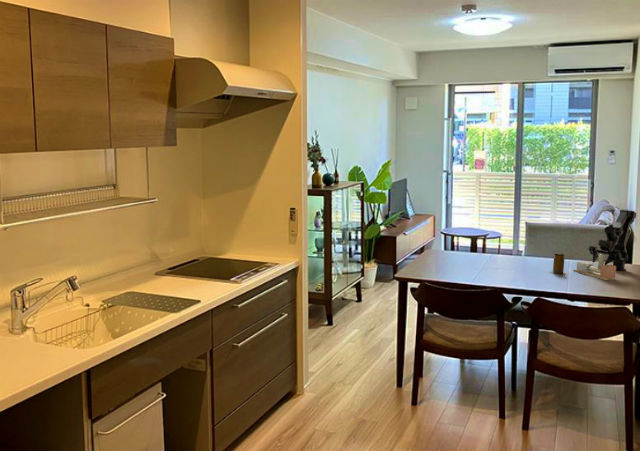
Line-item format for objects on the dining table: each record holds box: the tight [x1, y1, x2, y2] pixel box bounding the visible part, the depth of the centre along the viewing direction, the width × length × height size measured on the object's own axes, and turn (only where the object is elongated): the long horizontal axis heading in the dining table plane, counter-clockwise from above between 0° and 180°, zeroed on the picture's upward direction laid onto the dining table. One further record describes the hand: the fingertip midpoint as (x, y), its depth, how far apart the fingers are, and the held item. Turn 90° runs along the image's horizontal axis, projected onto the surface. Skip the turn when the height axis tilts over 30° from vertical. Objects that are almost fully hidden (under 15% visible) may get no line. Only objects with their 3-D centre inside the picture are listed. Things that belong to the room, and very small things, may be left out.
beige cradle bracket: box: [587, 253, 605, 274], centre depth 376 cm, size 3×15×12 cm, turn 22°
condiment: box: [549, 252, 569, 276], centre depth 383 cm, size 7×8×12 cm
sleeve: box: [576, 260, 594, 273], centre depth 386 cm, size 5×8×5 cm, turn 22°
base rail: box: [572, 268, 616, 281], centre depth 380 cm, size 7×26×1 cm, turn 22°
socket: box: [600, 263, 617, 279], centre depth 370 cm, size 7×4×7 cm, turn 112°
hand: (598, 263), depth 374 cm, fingers open, 7 cm apart
